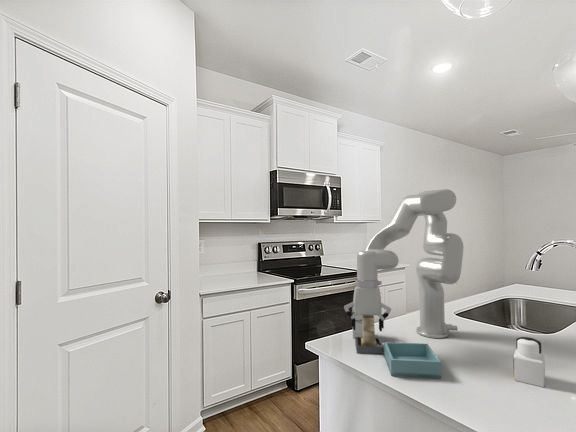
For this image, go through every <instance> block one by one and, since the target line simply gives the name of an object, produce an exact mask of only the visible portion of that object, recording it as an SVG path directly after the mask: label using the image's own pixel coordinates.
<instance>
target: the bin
mask: <svg viewBox="0 0 576 432" xmlns="http://www.w3.org/2000/svg"><path fill="white" fill-rule="evenodd" d="M383 346H384V354H383V355H384V356H383V357H384V359H385V361H386V366H387V367H388V371H389V374H390V376H391V377H404V378H425V379H426V378H427V379H442V361H441V360H440V358H438V356H437V354H436V353H435V352H434V351H433V350H432V348H431V347H430V345H429V344H428V343H419V342H417V343H413V342H392V341H391V342H388V341H385V342H383Z"/></svg>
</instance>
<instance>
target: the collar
mask: <svg viewBox="0 0 576 432" xmlns="http://www.w3.org/2000/svg"><path fill="white" fill-rule="evenodd" d="M361 338H363V337H355V338H354V344H355V351H356V352H355V353H356V354H367V355H368V354H370V355H371V354H373V355H384V343H383V342H382V339H381V337H376V336H375V340H376V343H377V346H361Z"/></svg>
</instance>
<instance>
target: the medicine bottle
mask: <svg viewBox="0 0 576 432" xmlns="http://www.w3.org/2000/svg"><path fill="white" fill-rule="evenodd" d="M515 344H516V347H515V348H516V349H515V351H514V354H513V357H512V358H513V361H512V362H513V380H514V381H515V382H520V383H524V384H529V385H532V386H536V387H541V388H544V387H545V381H546V380H545V379H546V375H545V373H546V368H545V366H546V365H545V355H544V354H542V343H541V341H539V340H537V339H535V338H534V337H528V336H520V337H519V336H518V337H517V338H516V343H515Z"/></svg>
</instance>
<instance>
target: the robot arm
mask: <svg viewBox="0 0 576 432" xmlns="http://www.w3.org/2000/svg"><path fill="white" fill-rule="evenodd" d="M456 204H457V195H456V193H455V192H454V191H453V190H451V189H448V188H447V189H446V188H444V189H443V188H442V189H437V190H435V189H433V190H426V191H425V190H424V191H421V192H419V193H417V194H410V195H406V196H404V197H403V198H402V199H401V201H400V203H399V204H398V206H397V208H396V210H395V212H394V214H393V215H392V217H391V220H390V221H389V223H388V224H387V225H386V226H385V227H383V228H382V229H381V230H380V231H378V233H376V234H375V235H374V236H373V238H372V239H371V240H370V242H369V244H367V247H366V249H365V250H360V251H358V252H357V254H356V285H355V286H354V289H353V290H354V291H353V300H352V302H349V303H347V304H346V305H344V306H343V309H344V311H345V312H346V315H347V316H348V317H349V318H350V319H351V321H350V322H351V323H350V325H351V326H350V327H351V328H352V331H353V330H355V317H356V316H357V314H359V315H374V316H377V317H379V319H378V330H379V332H383V329H384V326H385V325H384V321H386V320H385V319H386V318H387V317H389V314H390V313H391V312H392V308H391V307H390V306H388V305H386V304H384V303H382V296H381V290H380V289H381V288H380V287H379V286H380V285H381V286H382V284H383V283H382V281H381V280H379V279H378V278H379V277H378V271H379V270H380V271H381V270H382V271H392V270H394V269H396V267H397V266H398V265H399V261H400V260H399V257H398V254H397V253H395V251H391V250H387V249H386V247H388V246H389V245H390V244H391V243H394V242H395V241H397V240H398V241H399V240H400V239H403V238H405V237H407V236H409V234H410V232H411V231H412V228H413V227H414V224H415V222H416V221H417V219H418V217H421V216H423V217H424V221H425V226H424V236H423V241H422V242H423V245H422V247H423V250H424V252H425V253H426V254H429V255H431V256H432V255H433V256H439V257H440V256H441V257H442V258H441V259H440V258H435V257H423V258H421V259H420V260H419V261H418V262H417V263H416V266H415V267H416V268H415V269H416V275H417V280H418V286H419V287H418V288H419V326H418V327H416V329H415V330H416V333H417V334H419V335H420V336H423V337H426V338H432V339H444V338H447V337H449V336H450V332H449V331H458V326H457V325H453V324H450V323H446V321H445V319H446V318H445V317H446V316H445V291H444V288H443V284H446V285H454V284H456V283H457V282H459V280H460V278H461V274H462V267H463V258H464V243H463V239H462V238H461V236H459V235H458V234H456V233H452V232H447V231H448V219H447V217H446V215H445V214H444V212H448V211H450V210H452V209H453V208H455V206H456ZM350 308H353V310H354V312H353V313H352V311H350V310H349V309H350ZM382 308H383V309H384V310H385V312H384V313H383V314H382Z"/></svg>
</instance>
